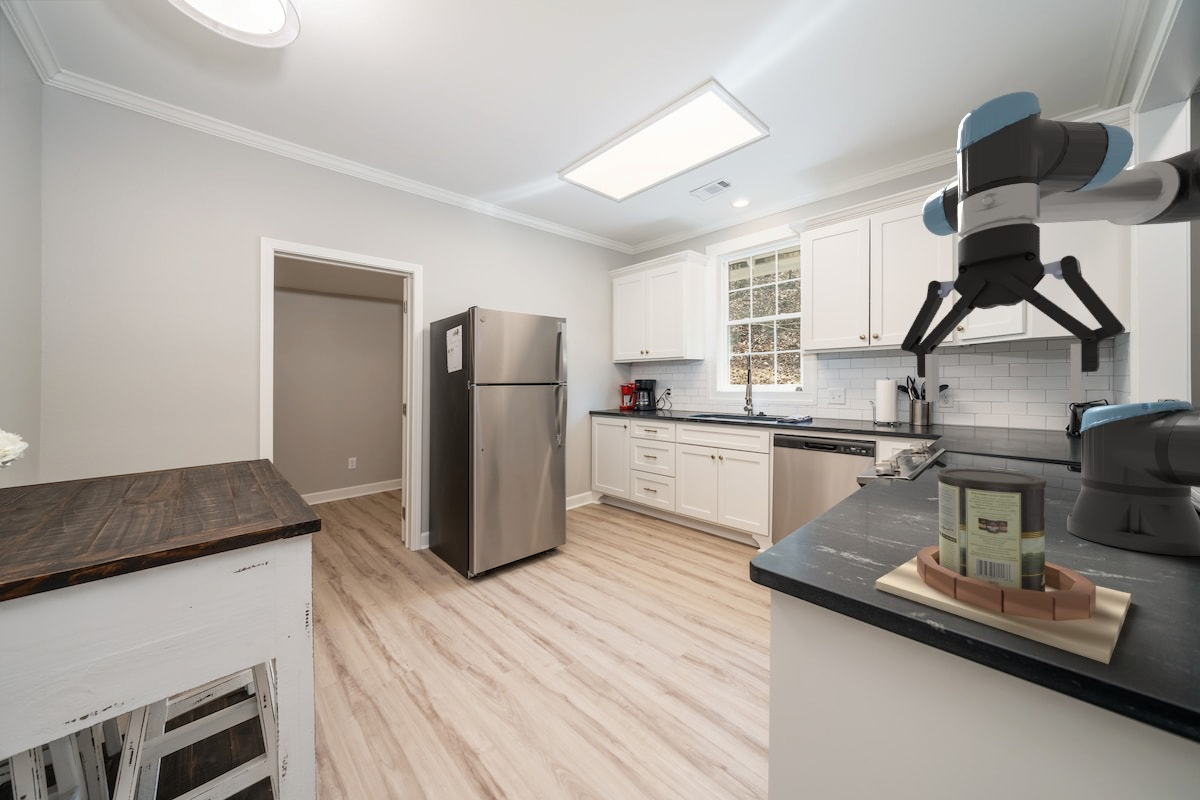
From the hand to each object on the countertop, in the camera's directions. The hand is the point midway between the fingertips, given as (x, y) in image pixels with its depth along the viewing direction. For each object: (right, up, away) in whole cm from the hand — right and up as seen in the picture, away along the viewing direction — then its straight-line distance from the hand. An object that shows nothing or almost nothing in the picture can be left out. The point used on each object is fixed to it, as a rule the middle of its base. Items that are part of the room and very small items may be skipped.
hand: (997, 402), depth 54 cm
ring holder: (0, -24, 0) cm, 24 cm away
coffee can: (0, -24, +1) cm, 24 cm away
